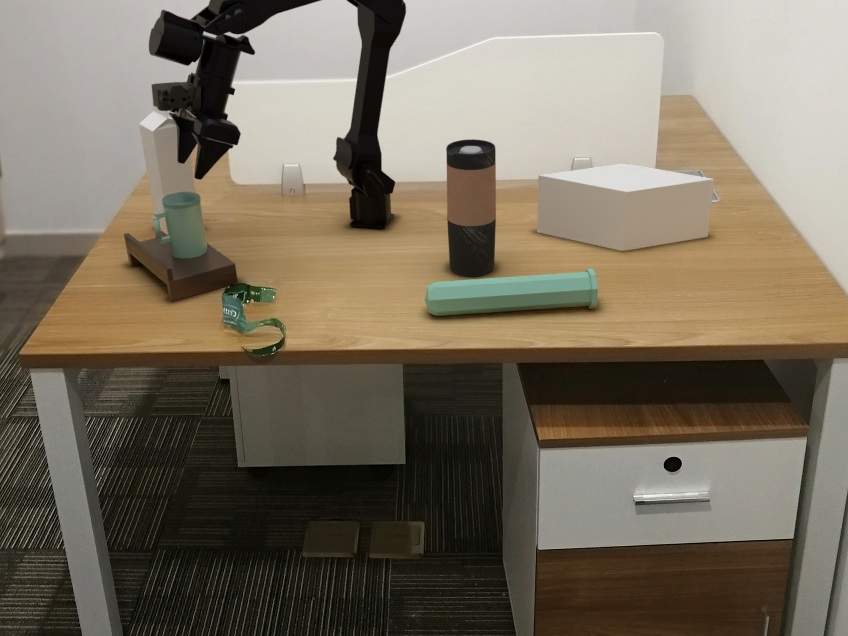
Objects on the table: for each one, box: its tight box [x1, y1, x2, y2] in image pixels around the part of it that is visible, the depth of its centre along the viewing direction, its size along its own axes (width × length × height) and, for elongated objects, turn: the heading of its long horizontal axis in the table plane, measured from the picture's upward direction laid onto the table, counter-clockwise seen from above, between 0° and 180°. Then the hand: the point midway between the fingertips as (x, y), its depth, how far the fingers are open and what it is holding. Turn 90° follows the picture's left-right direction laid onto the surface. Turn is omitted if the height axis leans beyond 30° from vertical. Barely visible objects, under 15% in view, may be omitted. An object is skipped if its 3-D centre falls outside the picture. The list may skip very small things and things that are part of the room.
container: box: [424, 267, 599, 317], centre depth 149 cm, size 6×6×25 cm
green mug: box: [152, 192, 208, 259], centre depth 161 cm, size 8×6×9 cm
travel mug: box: [445, 138, 497, 278], centre depth 159 cm, size 8×8×20 cm
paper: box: [536, 162, 715, 252], centre depth 172 cm, size 14×29×10 cm, turn 83°
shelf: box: [123, 232, 239, 303], centre depth 163 cm, size 11×18×5 cm, turn 36°
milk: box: [138, 102, 197, 236], centre depth 176 cm, size 6×6×22 cm
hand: (188, 170), depth 162 cm, fingers open, 9 cm apart
